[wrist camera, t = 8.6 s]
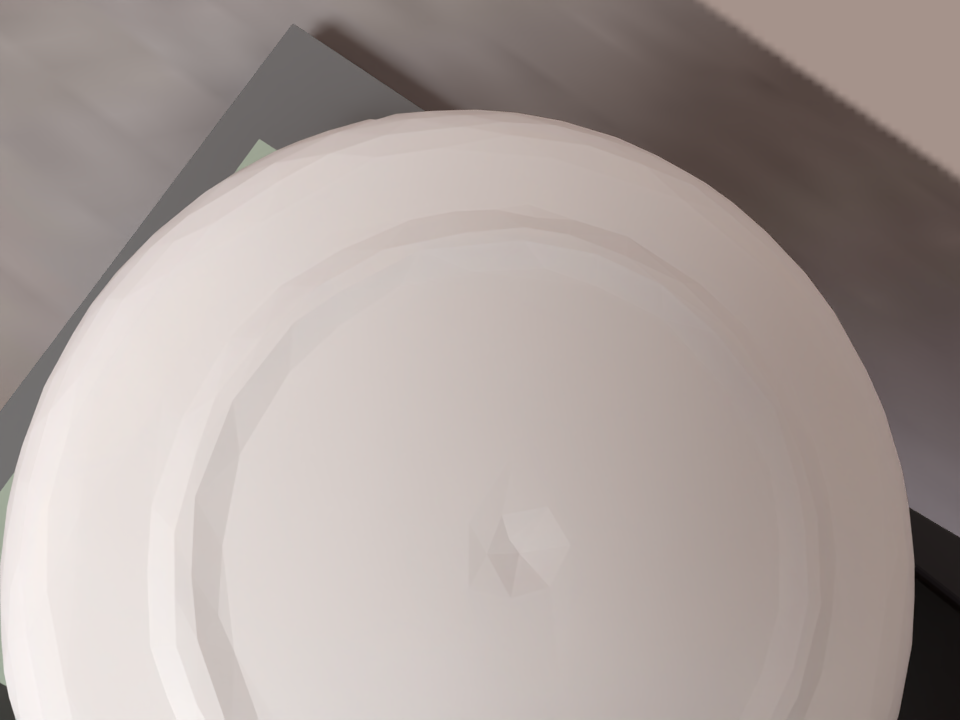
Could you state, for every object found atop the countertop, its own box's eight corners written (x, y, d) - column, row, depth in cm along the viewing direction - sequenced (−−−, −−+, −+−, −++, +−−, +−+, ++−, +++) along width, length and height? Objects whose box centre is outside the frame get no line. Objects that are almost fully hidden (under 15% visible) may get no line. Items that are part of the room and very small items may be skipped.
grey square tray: (370, 1059, 17) (404, 1261, 12) (-220, 738, 16) (-424, 828, 11) (739, 347, 21) (866, 300, 16) (292, 52, 20) (296, -87, 15)
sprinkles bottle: (165, 606, 16) (-266, 966, 3) (259, 370, 17) (224, -77, 4) (405, 682, 17) (849, 1231, 4) (481, 451, 18) (1030, 278, 5)
